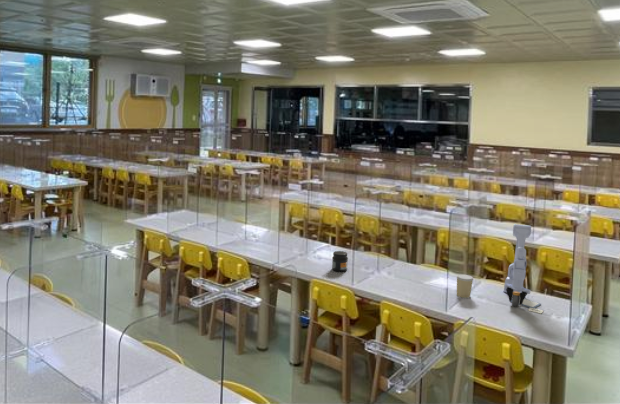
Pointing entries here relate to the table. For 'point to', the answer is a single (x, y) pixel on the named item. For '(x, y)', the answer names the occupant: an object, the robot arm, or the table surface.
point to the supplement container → (339, 261)
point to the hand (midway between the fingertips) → (515, 302)
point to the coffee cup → (464, 285)
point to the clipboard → (529, 303)
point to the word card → (535, 310)
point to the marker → (516, 299)
